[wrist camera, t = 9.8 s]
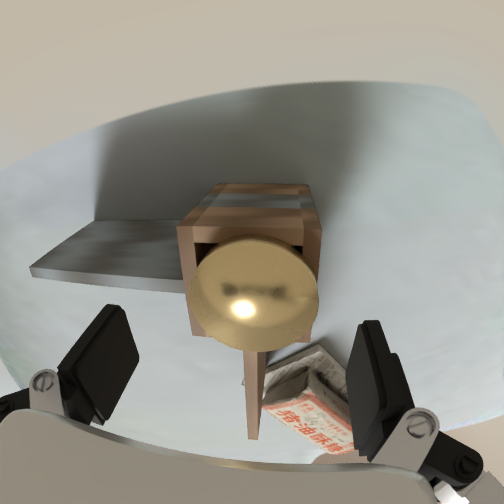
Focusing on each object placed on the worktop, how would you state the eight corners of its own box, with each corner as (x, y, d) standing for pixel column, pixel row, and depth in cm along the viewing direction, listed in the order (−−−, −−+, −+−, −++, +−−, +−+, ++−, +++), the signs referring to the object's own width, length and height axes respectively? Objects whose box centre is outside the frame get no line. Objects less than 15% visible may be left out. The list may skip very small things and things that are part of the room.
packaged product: (391, 440, 28) (323, 463, 31) (385, 411, 32) (322, 436, 36) (322, 375, 23) (235, 409, 26) (318, 338, 27) (241, 375, 31)
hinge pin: (308, 190, 21) (325, 247, 12) (304, 265, 23) (311, 354, 14) (225, 188, 21) (181, 242, 12) (229, 262, 24) (196, 346, 15)
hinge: (307, 185, 21) (321, 229, 13) (293, 367, 29) (292, 441, 21) (88, 190, 23) (17, 228, 15) (129, 350, 31) (96, 408, 23)
